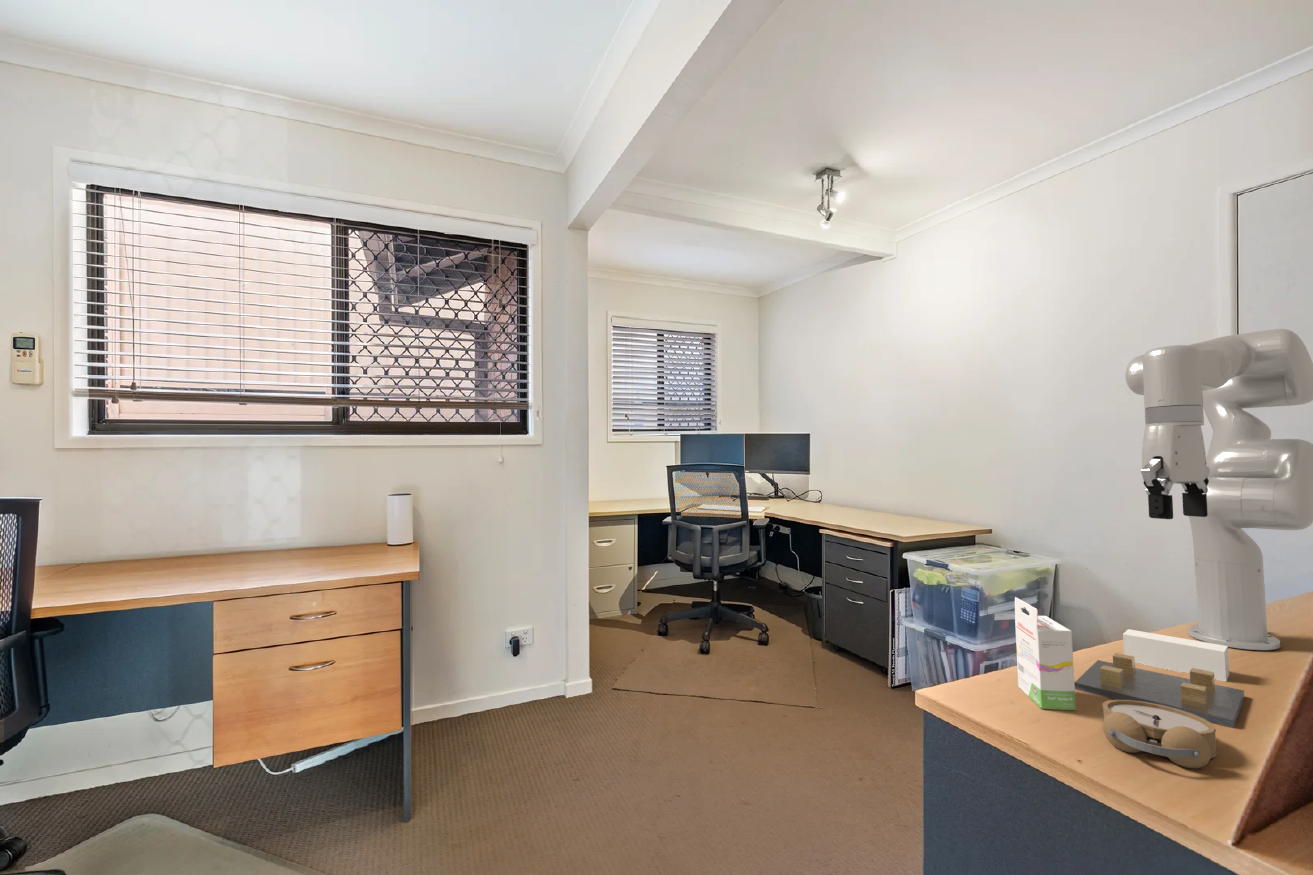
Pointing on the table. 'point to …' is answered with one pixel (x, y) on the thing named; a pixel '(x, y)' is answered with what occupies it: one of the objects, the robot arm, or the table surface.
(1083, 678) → the cradle jig
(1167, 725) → the alarm clock
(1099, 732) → the table surface
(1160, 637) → the white rectangular block
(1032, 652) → the ink box
